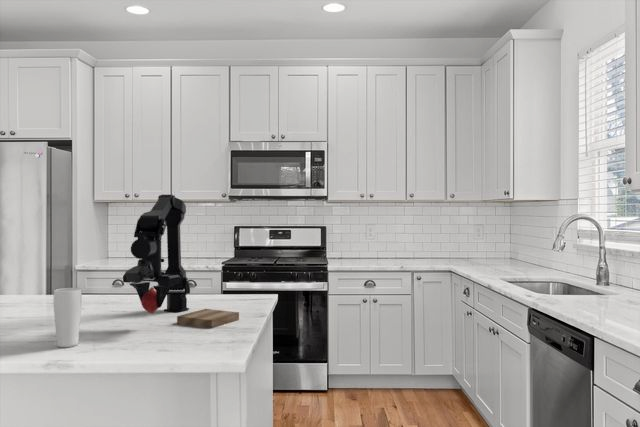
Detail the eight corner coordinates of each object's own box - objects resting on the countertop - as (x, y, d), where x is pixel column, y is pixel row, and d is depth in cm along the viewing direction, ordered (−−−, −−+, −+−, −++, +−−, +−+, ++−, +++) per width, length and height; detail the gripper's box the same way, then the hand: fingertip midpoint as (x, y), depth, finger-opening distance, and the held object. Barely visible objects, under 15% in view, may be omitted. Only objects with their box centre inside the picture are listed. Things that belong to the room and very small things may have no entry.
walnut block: (177, 325, 164) (177, 316, 164) (205, 317, 176) (205, 308, 176) (211, 330, 157) (211, 320, 157) (238, 321, 170) (238, 312, 170)
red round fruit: (155, 315, 153) (155, 289, 153) (137, 314, 154) (137, 288, 154) (164, 312, 159) (164, 286, 159) (147, 311, 160) (147, 285, 160)
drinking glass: (59, 342, 140) (59, 287, 140) (85, 342, 140) (85, 287, 140) (48, 349, 133) (48, 291, 133) (75, 348, 134) (75, 291, 134)
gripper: (108, 256, 154) (108, 308, 154) (154, 259, 145) (154, 314, 145) (137, 253, 164) (137, 302, 164) (181, 256, 155) (181, 307, 155)
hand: (151, 306), depth 157 cm, fingers closed on red round fruit, 6 cm apart
